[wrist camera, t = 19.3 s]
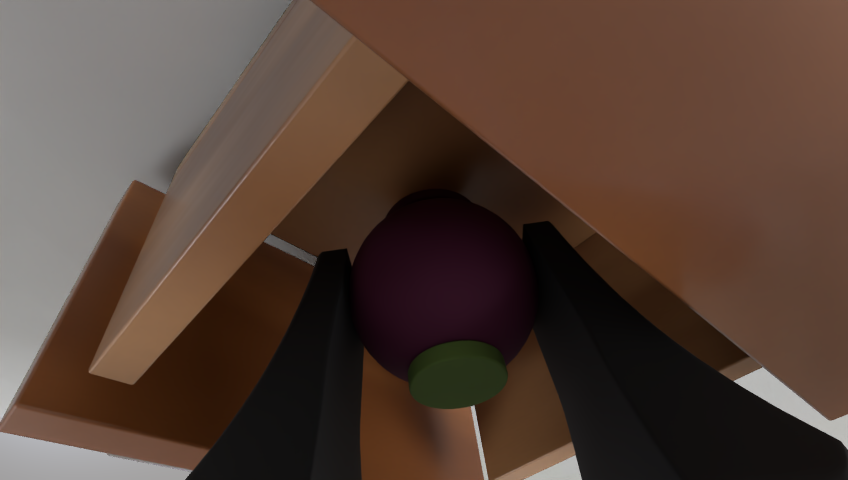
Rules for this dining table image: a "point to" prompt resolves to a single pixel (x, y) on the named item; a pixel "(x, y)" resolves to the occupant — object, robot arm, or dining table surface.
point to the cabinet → (668, 144)
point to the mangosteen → (444, 297)
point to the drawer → (302, 274)
